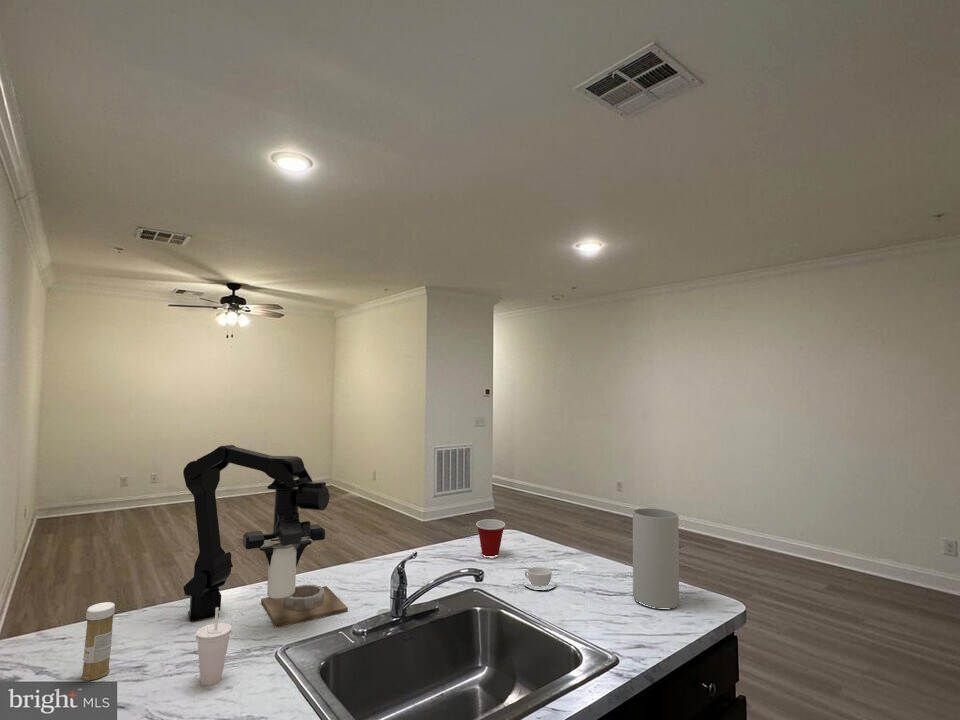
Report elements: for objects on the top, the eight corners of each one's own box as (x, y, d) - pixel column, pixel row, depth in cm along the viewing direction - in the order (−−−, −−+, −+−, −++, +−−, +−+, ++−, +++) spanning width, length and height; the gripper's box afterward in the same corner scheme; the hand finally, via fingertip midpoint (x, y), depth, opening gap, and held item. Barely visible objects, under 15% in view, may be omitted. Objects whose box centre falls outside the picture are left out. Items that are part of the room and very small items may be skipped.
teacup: (560, 585, 156) (561, 569, 157) (547, 595, 148) (547, 578, 148) (532, 578, 162) (532, 563, 162) (517, 587, 153) (517, 571, 154)
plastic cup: (472, 560, 178) (473, 525, 179) (477, 551, 188) (478, 518, 189) (503, 562, 176) (503, 527, 177) (506, 553, 187) (507, 520, 188)
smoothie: (204, 693, 95) (208, 616, 96) (185, 682, 99) (190, 608, 100) (235, 677, 101) (239, 605, 102) (217, 668, 104) (221, 598, 105)
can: (283, 601, 121) (285, 550, 122) (261, 597, 123) (263, 547, 124) (300, 591, 127) (302, 542, 128) (278, 588, 129) (280, 540, 130)
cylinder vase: (664, 614, 135) (664, 520, 137) (624, 600, 145) (624, 511, 147) (687, 603, 144) (686, 514, 145) (647, 590, 153) (647, 506, 155)
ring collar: (289, 613, 128) (289, 601, 129) (279, 600, 137) (280, 589, 137) (328, 605, 134) (328, 594, 134) (316, 593, 142) (317, 582, 142)
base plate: (276, 627, 123) (276, 623, 123) (260, 602, 138) (261, 598, 138) (347, 611, 133) (347, 607, 133) (326, 589, 148) (326, 586, 148)
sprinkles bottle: (78, 675, 100) (84, 606, 101) (106, 666, 104) (111, 599, 105) (84, 684, 97) (90, 612, 98) (112, 674, 101) (118, 605, 102)
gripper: (251, 518, 115) (247, 588, 114) (332, 510, 125) (329, 574, 124) (244, 508, 124) (240, 573, 123) (320, 502, 134) (317, 561, 133)
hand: (283, 571), depth 126 cm, fingers closed on can, 5 cm apart
